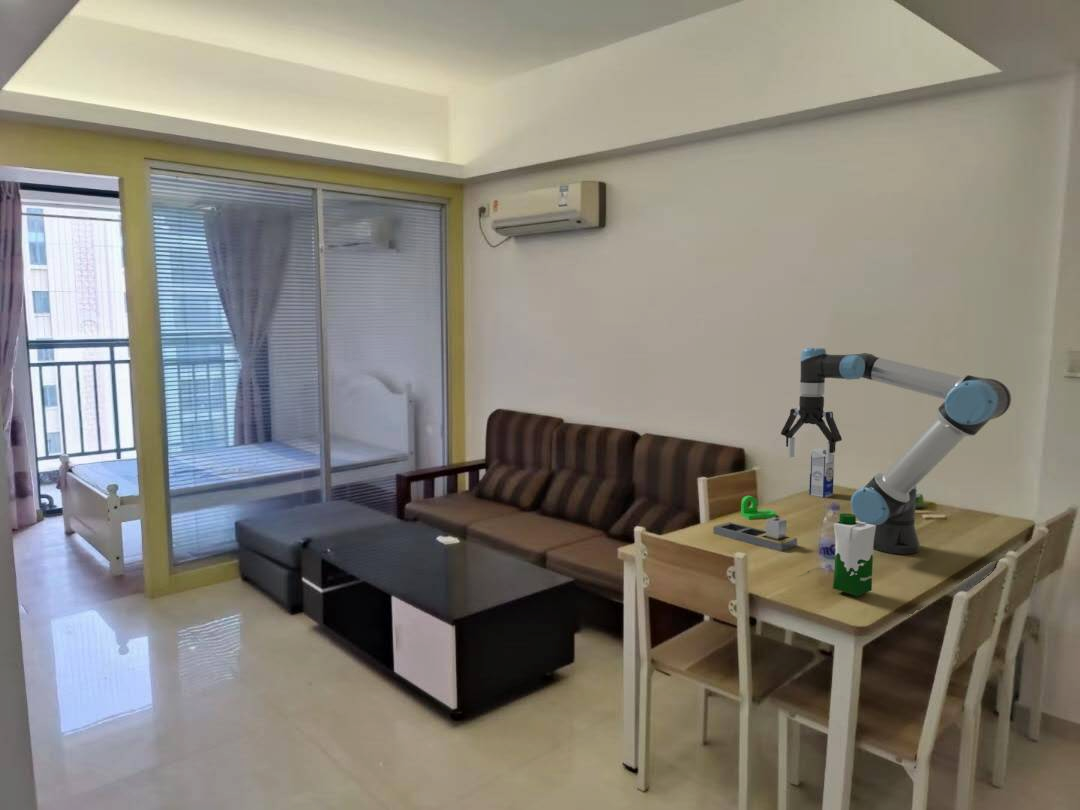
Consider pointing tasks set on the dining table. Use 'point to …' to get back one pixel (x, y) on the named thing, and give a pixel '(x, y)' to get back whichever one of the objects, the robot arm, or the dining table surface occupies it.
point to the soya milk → (853, 555)
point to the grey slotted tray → (753, 536)
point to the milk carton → (821, 474)
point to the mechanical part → (754, 509)
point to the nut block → (776, 528)
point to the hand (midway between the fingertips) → (809, 459)
